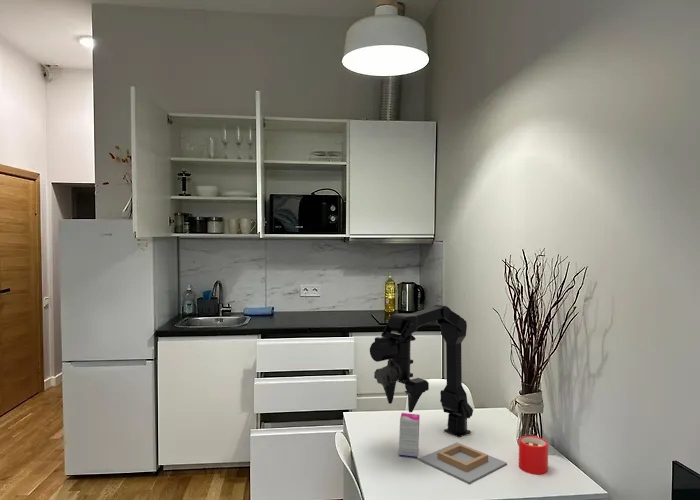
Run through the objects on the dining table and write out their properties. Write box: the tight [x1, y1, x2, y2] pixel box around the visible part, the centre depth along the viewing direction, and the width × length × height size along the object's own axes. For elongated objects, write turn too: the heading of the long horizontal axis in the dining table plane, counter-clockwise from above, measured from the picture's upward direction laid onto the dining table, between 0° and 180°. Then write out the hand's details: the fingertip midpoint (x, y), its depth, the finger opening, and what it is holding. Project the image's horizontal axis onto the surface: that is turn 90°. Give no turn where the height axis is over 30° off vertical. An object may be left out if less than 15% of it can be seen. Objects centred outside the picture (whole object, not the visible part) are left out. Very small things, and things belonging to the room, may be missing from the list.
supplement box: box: [398, 412, 421, 459], centre depth 148 cm, size 6×6×12 cm
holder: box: [418, 442, 508, 485], centre depth 143 cm, size 18×18×3 cm
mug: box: [518, 435, 549, 476], centre depth 142 cm, size 8×12×8 cm, turn 154°
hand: (400, 407), depth 147 cm, fingers open, 9 cm apart
